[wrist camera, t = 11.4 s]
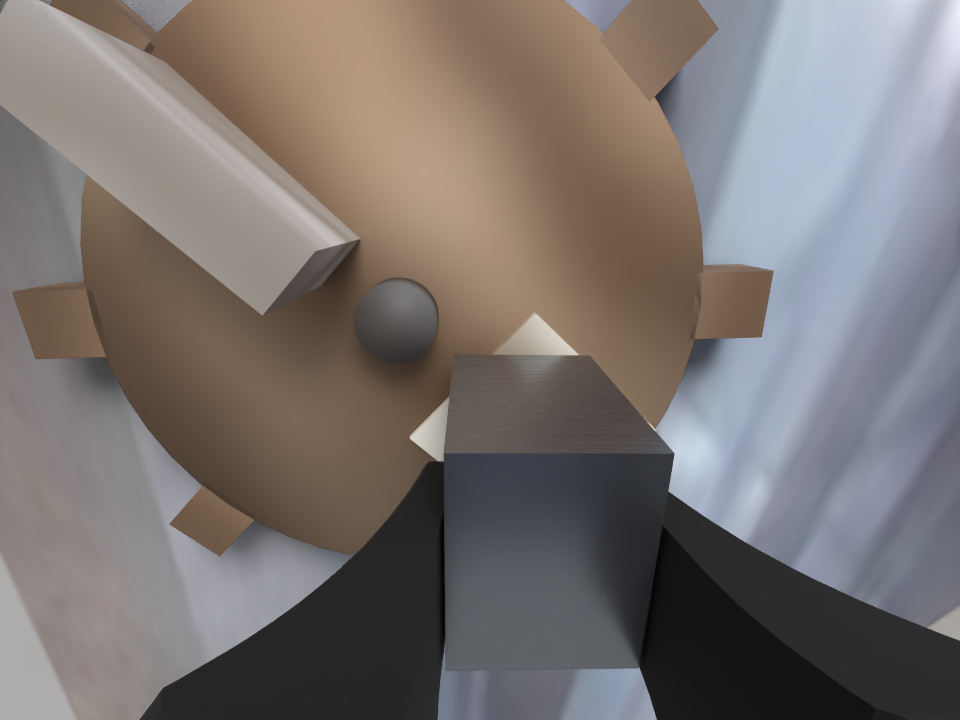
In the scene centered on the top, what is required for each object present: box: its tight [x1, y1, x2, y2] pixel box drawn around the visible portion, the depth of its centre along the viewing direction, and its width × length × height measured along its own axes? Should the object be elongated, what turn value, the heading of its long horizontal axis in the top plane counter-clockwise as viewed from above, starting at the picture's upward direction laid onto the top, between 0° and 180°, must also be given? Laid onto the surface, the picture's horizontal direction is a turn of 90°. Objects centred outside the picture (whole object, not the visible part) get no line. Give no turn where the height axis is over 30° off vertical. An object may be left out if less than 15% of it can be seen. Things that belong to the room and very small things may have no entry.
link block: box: [444, 354, 674, 671], centre depth 10 cm, size 4×4×5 cm
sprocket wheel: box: [0, 0, 773, 556], centre depth 11 cm, size 20×20×5 cm
